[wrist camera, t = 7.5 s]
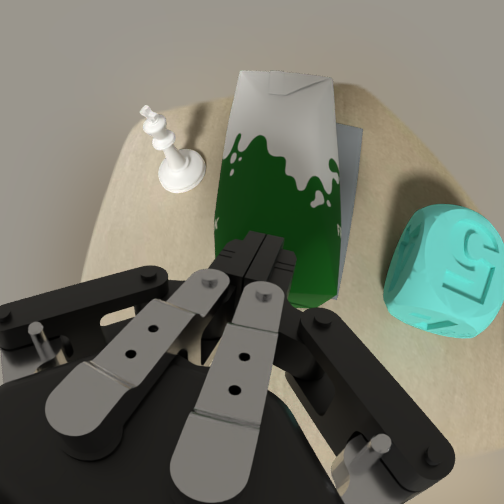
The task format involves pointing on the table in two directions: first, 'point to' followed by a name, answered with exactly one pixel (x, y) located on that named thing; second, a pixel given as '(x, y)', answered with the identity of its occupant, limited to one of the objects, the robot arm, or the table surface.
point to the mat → (347, 181)
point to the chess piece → (173, 156)
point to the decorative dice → (447, 272)
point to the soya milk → (284, 176)
